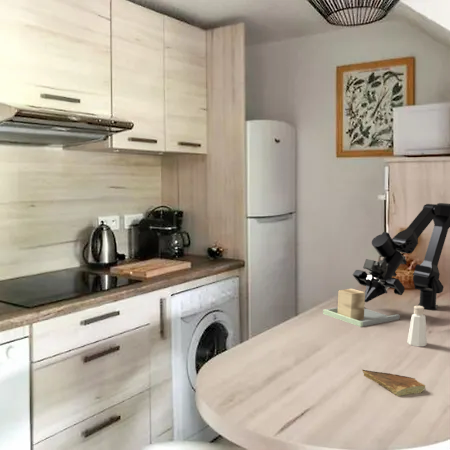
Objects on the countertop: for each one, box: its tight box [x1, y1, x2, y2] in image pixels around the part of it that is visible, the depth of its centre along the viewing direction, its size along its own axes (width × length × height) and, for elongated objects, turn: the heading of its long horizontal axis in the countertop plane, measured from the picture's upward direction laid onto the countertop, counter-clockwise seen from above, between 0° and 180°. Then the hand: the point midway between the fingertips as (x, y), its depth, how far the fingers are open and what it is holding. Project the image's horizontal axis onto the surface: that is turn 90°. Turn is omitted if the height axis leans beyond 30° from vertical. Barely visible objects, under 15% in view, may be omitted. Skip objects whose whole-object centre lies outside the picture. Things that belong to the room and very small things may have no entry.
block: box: [337, 288, 366, 321], centre depth 175 cm, size 6×6×9 cm
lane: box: [322, 306, 401, 328], centre depth 178 cm, size 18×17×3 cm
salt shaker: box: [406, 305, 428, 347], centre depth 154 cm, size 5×5×11 cm
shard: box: [361, 369, 426, 397], centre depth 126 cm, size 13×9×2 cm
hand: (364, 301), depth 178 cm, fingers closed
